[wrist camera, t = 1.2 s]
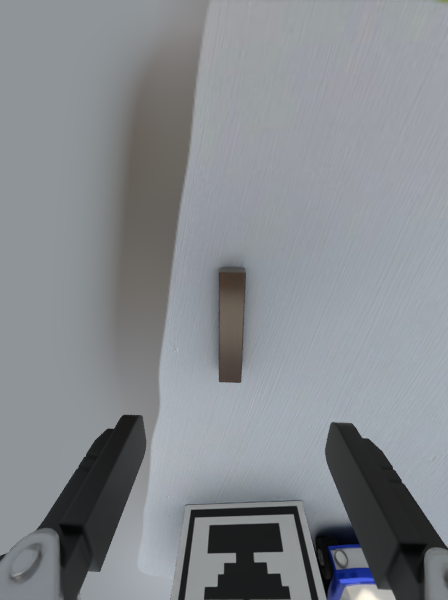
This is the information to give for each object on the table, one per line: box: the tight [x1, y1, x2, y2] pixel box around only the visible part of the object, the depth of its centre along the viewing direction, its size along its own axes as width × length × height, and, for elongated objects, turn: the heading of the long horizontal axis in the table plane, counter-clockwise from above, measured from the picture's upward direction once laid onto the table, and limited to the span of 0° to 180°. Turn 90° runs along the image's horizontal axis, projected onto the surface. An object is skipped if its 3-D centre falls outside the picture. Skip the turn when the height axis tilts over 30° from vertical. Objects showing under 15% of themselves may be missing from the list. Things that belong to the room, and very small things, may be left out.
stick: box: [219, 268, 246, 383], centre depth 19 cm, size 2×10×2 cm, turn 0°
